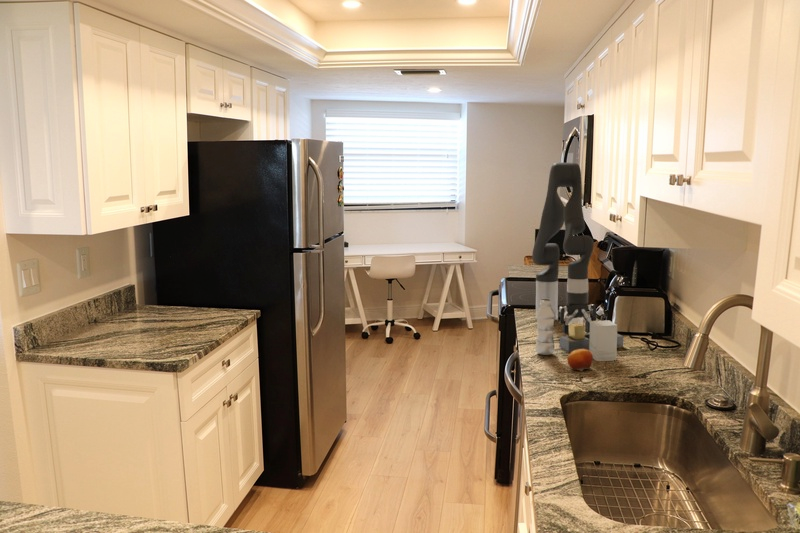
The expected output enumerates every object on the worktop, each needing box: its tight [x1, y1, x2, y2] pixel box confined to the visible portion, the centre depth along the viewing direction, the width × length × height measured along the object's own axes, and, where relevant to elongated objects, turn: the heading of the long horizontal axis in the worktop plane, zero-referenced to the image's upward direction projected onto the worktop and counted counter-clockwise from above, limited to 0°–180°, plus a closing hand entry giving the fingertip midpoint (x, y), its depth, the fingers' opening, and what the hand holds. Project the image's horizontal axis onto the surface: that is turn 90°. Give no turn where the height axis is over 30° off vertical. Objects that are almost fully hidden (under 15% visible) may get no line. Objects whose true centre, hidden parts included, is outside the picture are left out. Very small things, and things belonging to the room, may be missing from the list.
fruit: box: [567, 349, 593, 372], centre depth 212 cm, size 8×8×8 cm
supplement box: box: [589, 320, 618, 362], centre depth 222 cm, size 7×7×13 cm
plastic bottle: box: [535, 299, 556, 356], centre depth 228 cm, size 6×7×20 cm
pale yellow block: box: [568, 323, 586, 340], centre depth 234 cm, size 4×4×8 cm
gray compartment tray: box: [559, 333, 624, 353], centre depth 236 cm, size 7×22×4 cm, turn 103°
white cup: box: [564, 305, 584, 325], centre depth 257 cm, size 8×8×10 cm
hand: (576, 333), depth 234 cm, fingers open, 8 cm apart
